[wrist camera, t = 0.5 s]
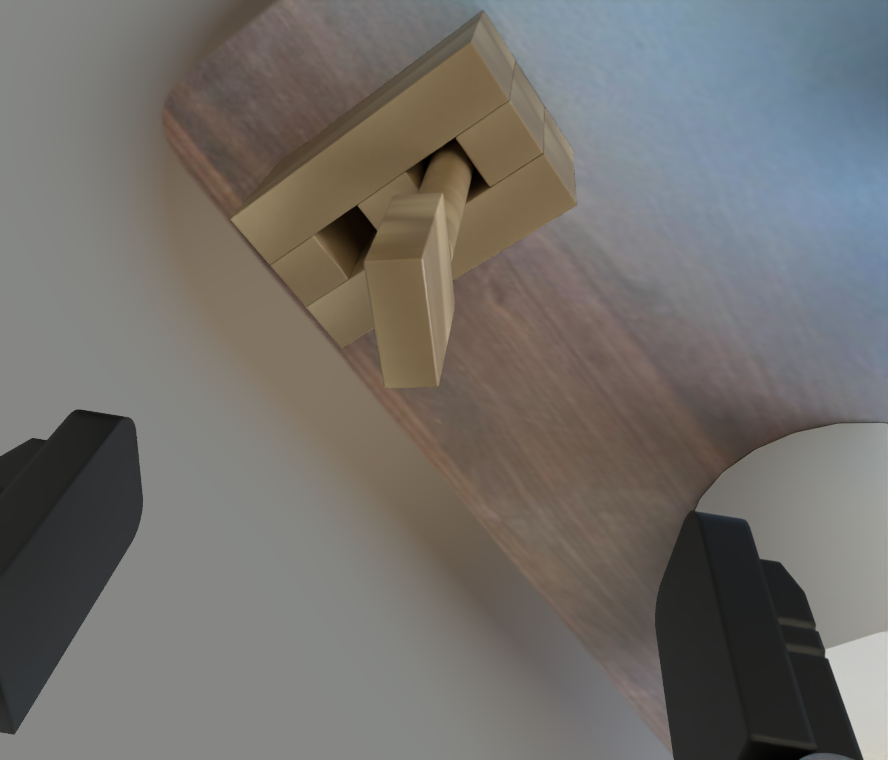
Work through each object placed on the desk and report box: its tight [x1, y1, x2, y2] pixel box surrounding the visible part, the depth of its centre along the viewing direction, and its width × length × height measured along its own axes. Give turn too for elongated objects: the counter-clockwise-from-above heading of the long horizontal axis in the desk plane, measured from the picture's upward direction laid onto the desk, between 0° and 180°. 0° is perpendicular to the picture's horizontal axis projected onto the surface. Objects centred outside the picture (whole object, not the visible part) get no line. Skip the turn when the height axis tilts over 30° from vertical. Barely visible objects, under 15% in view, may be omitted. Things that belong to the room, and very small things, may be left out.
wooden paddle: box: [364, 137, 474, 389], centre depth 31 cm, size 2×4×19 cm, turn 6°
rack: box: [231, 10, 577, 348], centre depth 36 cm, size 7×12×7 cm, turn 126°
